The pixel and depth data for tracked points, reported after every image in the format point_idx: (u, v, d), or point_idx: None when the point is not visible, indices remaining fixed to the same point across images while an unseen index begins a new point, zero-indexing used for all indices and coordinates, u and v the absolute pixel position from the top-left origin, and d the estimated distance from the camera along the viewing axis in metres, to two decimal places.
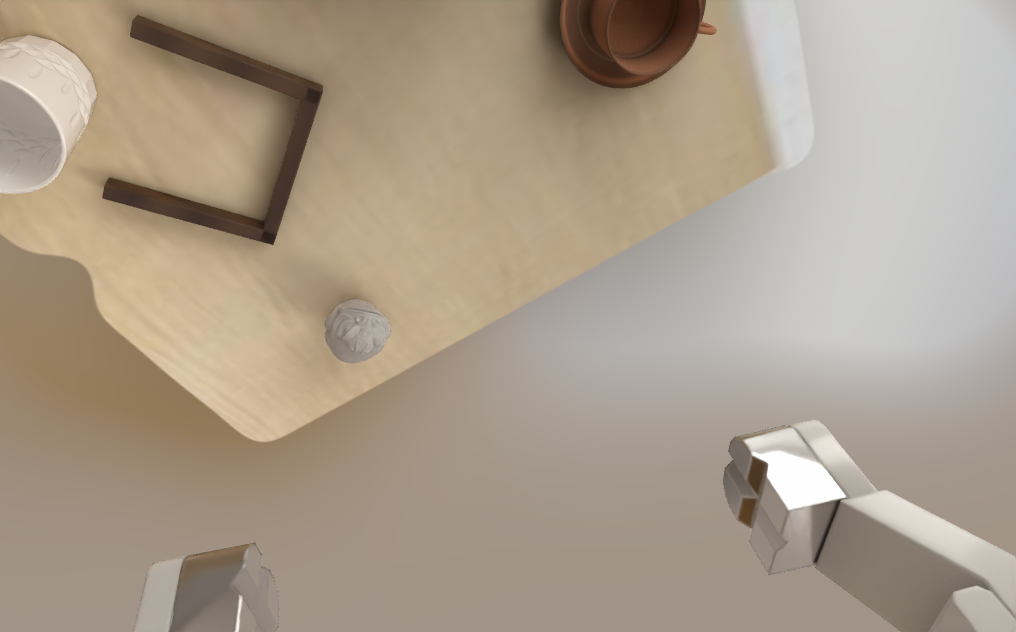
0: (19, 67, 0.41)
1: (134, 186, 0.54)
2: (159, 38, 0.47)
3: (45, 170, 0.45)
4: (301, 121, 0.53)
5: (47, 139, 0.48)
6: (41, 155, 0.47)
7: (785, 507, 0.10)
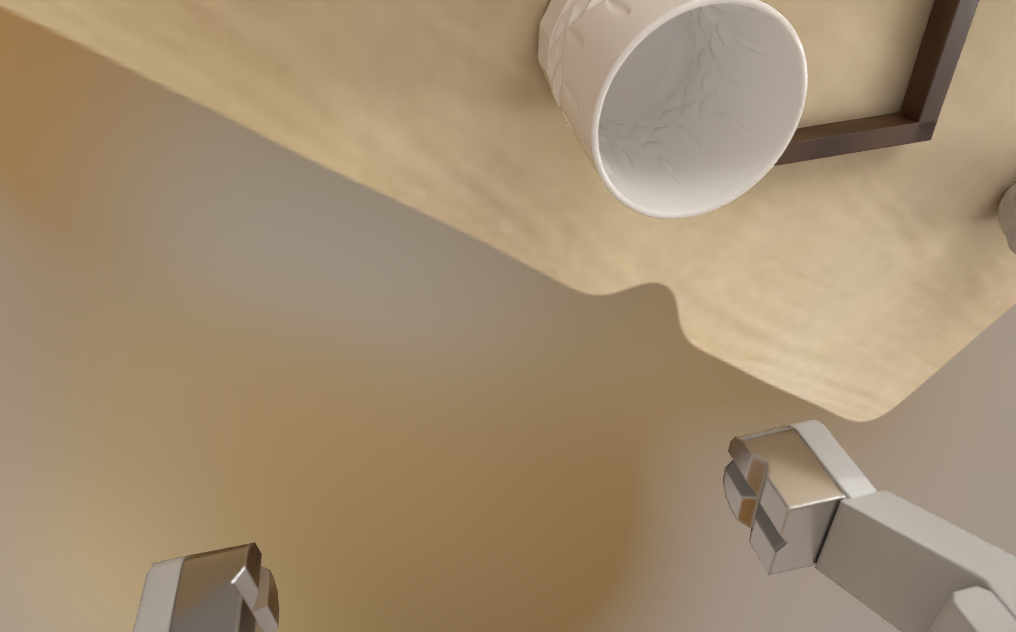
0: None
1: None
2: None
3: (731, 150, 0.27)
4: None
5: (653, 116, 0.31)
6: (678, 138, 0.29)
7: (785, 507, 0.10)
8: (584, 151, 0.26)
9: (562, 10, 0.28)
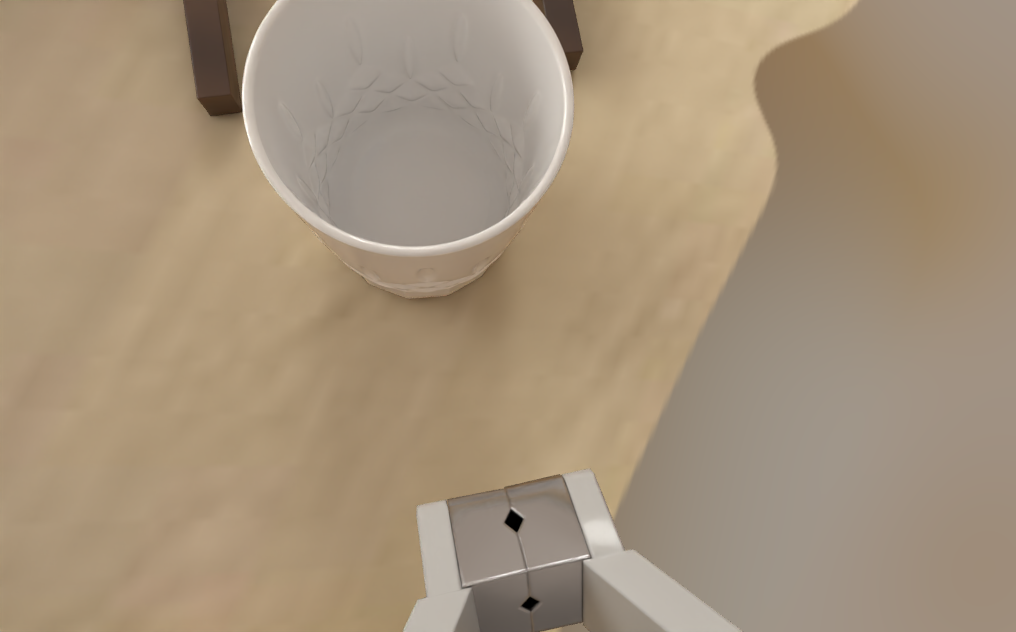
0: None
1: None
2: (206, 50, 0.24)
3: (488, 32, 0.19)
4: None
5: (492, 142, 0.23)
6: (501, 105, 0.21)
7: (525, 568, 0.10)
8: (499, 245, 0.18)
9: None
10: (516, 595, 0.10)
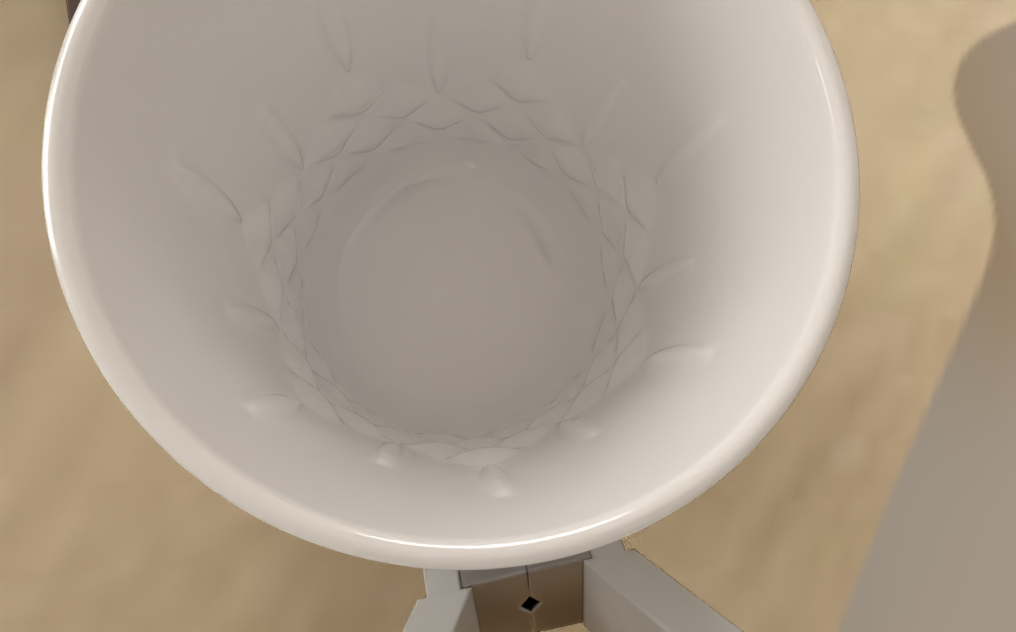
0: None
1: None
2: None
3: None
4: None
5: (577, 195, 0.14)
6: (608, 138, 0.12)
7: (526, 567, 0.10)
8: None
9: None
10: (516, 595, 0.10)
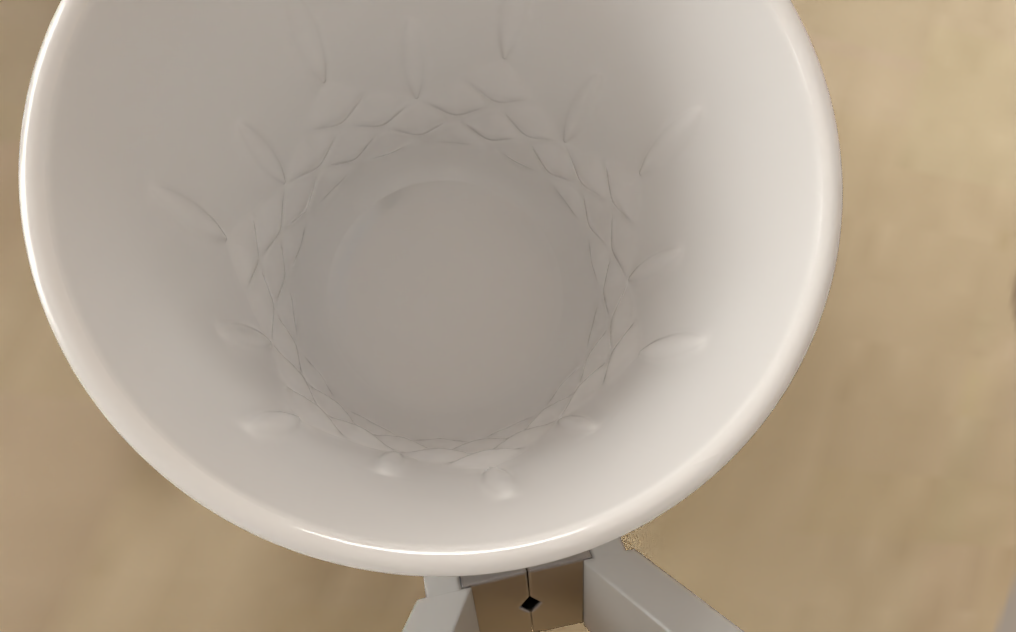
0: None
1: None
2: None
3: None
4: None
5: (562, 192, 0.14)
6: (589, 132, 0.12)
7: (526, 568, 0.10)
8: None
9: None
10: (515, 595, 0.10)
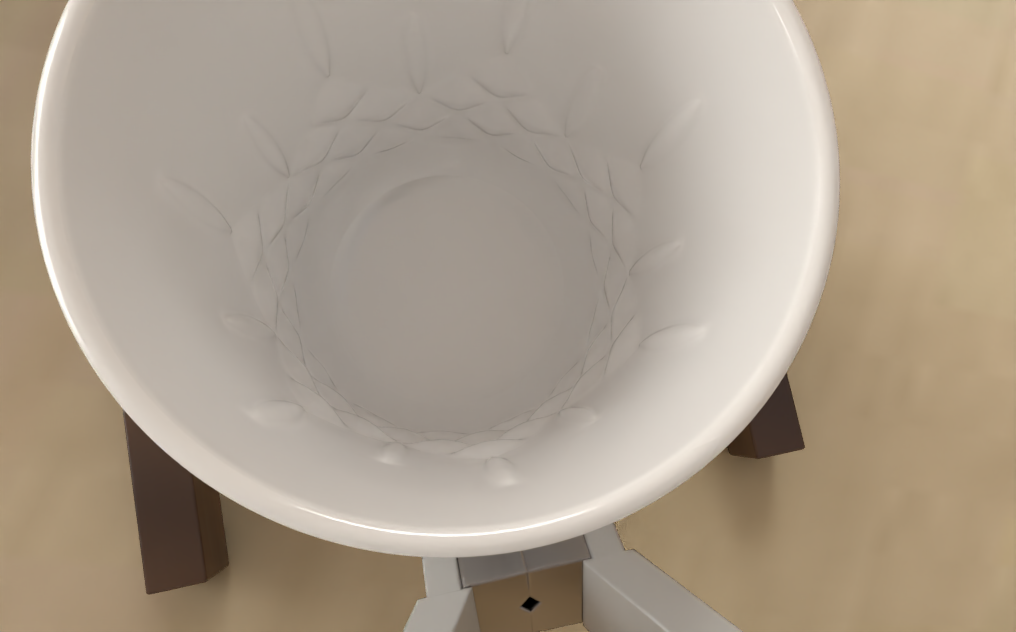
0: None
1: None
2: (162, 500, 0.14)
3: None
4: None
5: (563, 186, 0.14)
6: (590, 127, 0.12)
7: (526, 568, 0.10)
8: None
9: None
10: (516, 595, 0.10)
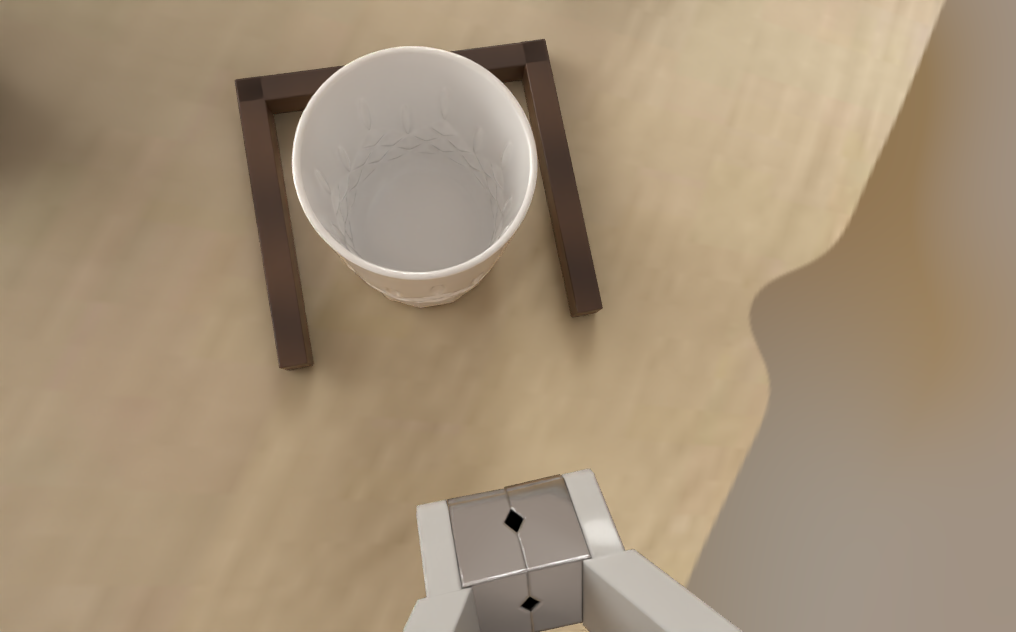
0: None
1: (564, 277, 0.32)
2: (286, 325, 0.29)
3: (467, 99, 0.24)
4: (301, 87, 0.30)
5: (477, 176, 0.29)
6: (482, 149, 0.27)
7: (526, 568, 0.10)
8: (491, 262, 0.24)
9: None
10: (516, 595, 0.10)
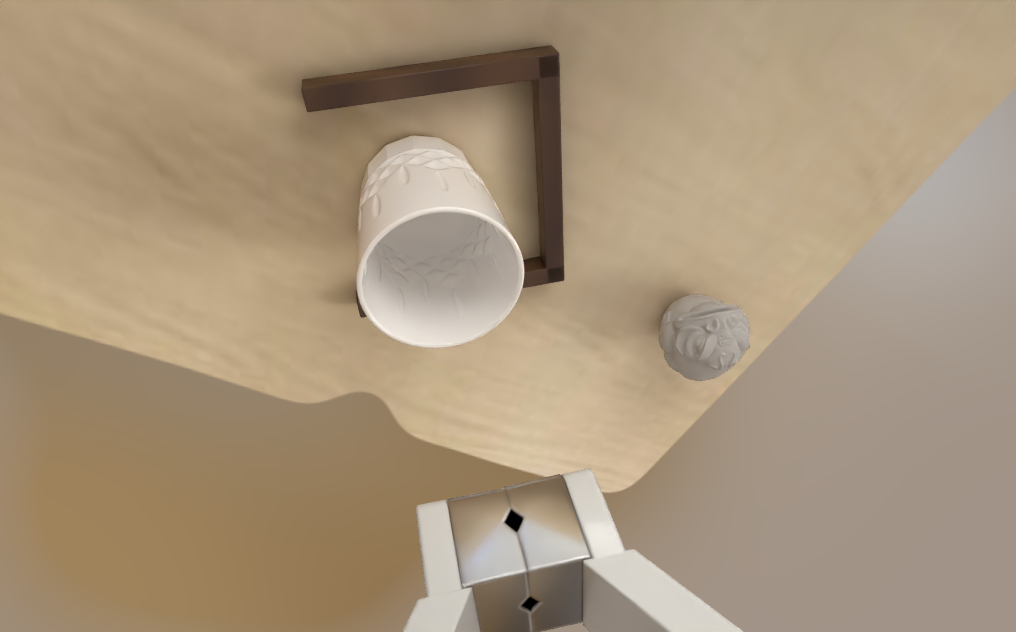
0: (427, 186, 0.31)
1: None
2: (340, 95, 0.34)
3: (494, 288, 0.35)
4: (546, 109, 0.36)
5: (458, 249, 0.39)
6: (469, 271, 0.37)
7: (526, 568, 0.10)
8: None
9: (365, 186, 0.36)
10: (516, 595, 0.10)
